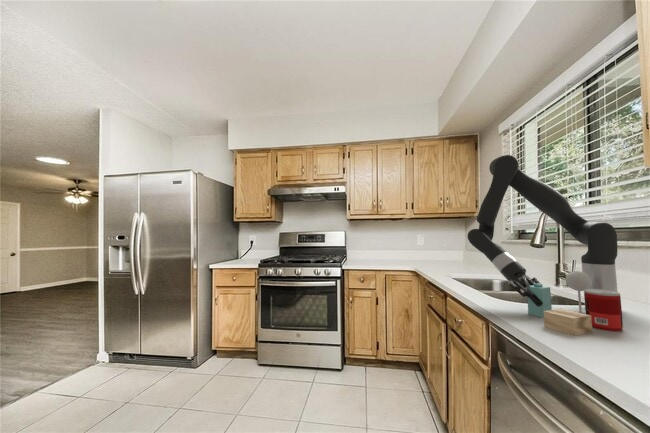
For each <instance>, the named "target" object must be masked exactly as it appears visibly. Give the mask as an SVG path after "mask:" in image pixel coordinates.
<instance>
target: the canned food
mask: <svg viewBox="0 0 650 433" xmlns="http://www.w3.org/2000/svg"><path fill="white" fill-rule="evenodd" d="M584 299H585V301H584V307H585V308H584V310H585V314H587V315H591V320H592V329H593V328H594V329H597V330H601V331H609V332H610V331H611V332H621V331H623V328H624V322H623V311H622V308H623V307H622V299H621V293H620V292H619V291H618V292H615V291H610V290H601V289H585V290H584V291H583V300H584Z"/></svg>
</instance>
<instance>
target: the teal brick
mask: <svg viewBox="0 0 650 433" xmlns="http://www.w3.org/2000/svg"><path fill="white" fill-rule="evenodd" d="M530 289H531V291H532V292H533V293H534V294H535V295H536V296H537V297H538V298H539V299H540V300H541V301H542V302H543V304H542V305H541V306H536V305H535V303H534V302H533V301H532V300H531V299H530V298H527V297H526V298H527V314H528V315H531V316H536V317H540V318H543V319H544V311H548V310H553V308H552V303H551V300H552V293H551V291H552V290H551V287H550V286H544V285H543V284H542V283H540V284H539V283H534V285H531V286H530ZM534 294H533V295H534Z"/></svg>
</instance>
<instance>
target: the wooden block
mask: <svg viewBox="0 0 650 433" xmlns="http://www.w3.org/2000/svg"><path fill="white" fill-rule="evenodd" d="M543 324H544V327H545V328H549V329H552V330H555V331H559V332H561V333H565V334H569V335H570V336H571V335H572V336H580V335H585V334H590V333H593V327H592V320H591V315H587V314H586V313H583V312H582V313H580V312H577V311H572V310H569V309H568V310H567V309H565V308H556V309H552V310H548V311H544V318H543Z"/></svg>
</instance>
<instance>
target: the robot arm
mask: <svg viewBox="0 0 650 433" xmlns="http://www.w3.org/2000/svg"><path fill="white" fill-rule="evenodd" d="M519 167H520V161H519V159H518V158H517V157H516V156H514V155H510V154H504V155H501V156H498V157H496V158H495V159H493V160H492V161H491V162H490V164H489V172H490V174H491V175H492V179H491V183H490V185H489V188H488V190H487V193H486V195H485V197H484V198H483V200H482V203H481V204H480V208H479V210H478V212H477V216H476V222H477V223H478V228H472V229H470V230H469V231H468V233H467V239H468V242H469V243H470V244H471V245H472V246H473V247H474V248H475V249H476V250H478V251H479V252H480V253H482V254H483V255H484V256H486V258H487V259H488V260H489V261H490V263H491V264H493V266H494V267H495V268H496V269H497V271H498V272H499V273H500V274H501V275H502V277H504V278H505V279H506V280H507V281H508V282H510V283H509V286H510V287H511V288H513V289H514V291H516V292H517V293H518V294H519V295H520V296H522V297H523V298H524V297H525V298H530V299H531V300H532V301H533V302H534V303H535V305H536V306H541V305H542V304H543V302H542V301H541V300H540V299H539V298H538V297H537V296H536V295H535V294H534V293H533V292H532V291H531V289H530V286H531V285H534V283H539V284H541V282H540V281H539V280H538V279H537V278H536V277H532V278H531V277H529V276H528V275H527V274H526V273H527V268H525V267H524V266H523V265H522V264H521V263H520V262H519V261H518V260H517V259H515V257H514V256H512V255H511V254H510V253H509V252H508V251H506V249H505V248H504V247H502V246H501V245H500V244H498V243H496V242H494V241H493V238H494V235H495V234H494V233H495V222H496V219H497V216H498V214H499V211H500V209H501V205H502V202H503V200H504V197H505V194H506V192H507V191H508V189H509V186H510V188H512V189H513V190H515V191H516V192H517V193H518V194H519V195H520V196H522V197H523V198H524V199H525V200H527V202H529V203H530V204H531V205H532V206H534V207H535V208H537V209H538V210H539V211H541V212H542V213H544V214H545V215H546V216H548V217H549V218H550V219H552V220H553V221H554V222H556V223H557V224H559V225H560V226H561V227H563V229H564V230H566V231H567V233H569V234H570V236H572V237H573V238H574V239H575V240H576V241H577V242H579V243H581V244H583V245H586V246H587V252H586V253H585V254H583V255H582V254H581V257H580V259H581V261H580V262H581V270H582V271H581V272H583V273H585V274H587V275H588V276H589V277H590V278H591V281H592V285H591V287H590V288H589V289H601V290H610V291H615V292H618V293H619V291H618V282H617V271H616V259H617V258H618V234H617V230H616V228H615V227H614V226H613V225H612V224H610V223H608V222H604V221H597V222H596V221H595V222H593V221H592V222H591V221H589V220H587V219H585V218H583V217H582V216H581V215H579V214H577V213H576V211H574V209H573V208H572V206H571V204H570V203H569V201H568V199H567V198H566V196H564V195H563V194H562V193H560V192H559V191H557V189H555V188H554V187H552V186H551V185H549V184H547V183H545V182H543V181H541V180H538V179H536V178H533V177H532V176H530V175H528V174H526V173H525V172H523V170H521V169H520V168H519ZM533 294H534V295H533ZM583 301H584V302H585V299H584V298H583ZM552 303H553V300H552V299H551V304H552Z"/></svg>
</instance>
